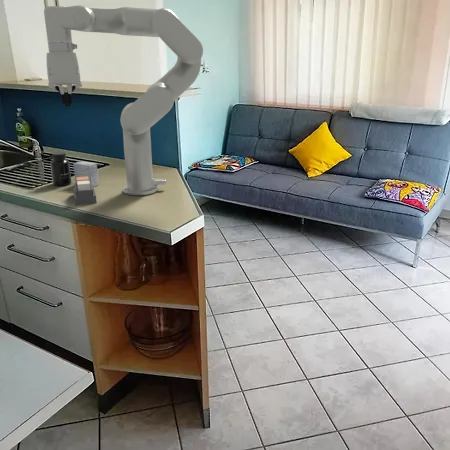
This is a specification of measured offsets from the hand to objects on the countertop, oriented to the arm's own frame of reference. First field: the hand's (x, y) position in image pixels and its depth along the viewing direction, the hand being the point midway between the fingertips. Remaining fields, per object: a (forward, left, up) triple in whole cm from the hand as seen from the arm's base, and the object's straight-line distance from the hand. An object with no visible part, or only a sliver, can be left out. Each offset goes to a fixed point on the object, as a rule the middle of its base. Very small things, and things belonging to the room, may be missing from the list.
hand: (67, 105), depth 160 cm
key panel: (-2, +7, -31) cm, 32 cm away
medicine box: (-4, -10, -31) cm, 33 cm away
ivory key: (-2, +10, -28) cm, 29 cm away
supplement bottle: (+5, -15, -31) cm, 35 cm away
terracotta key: (-2, +4, -27) cm, 28 cm away
